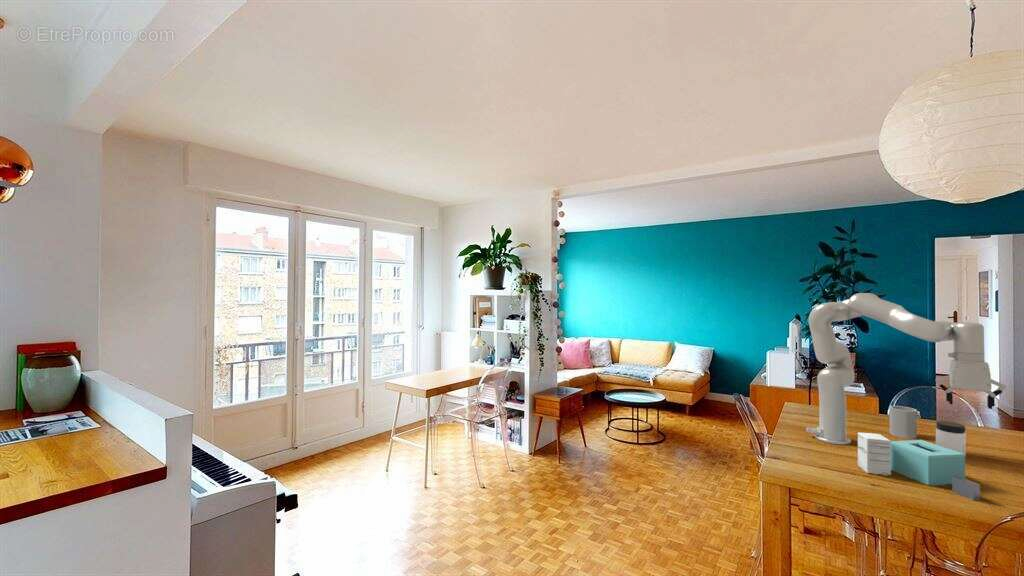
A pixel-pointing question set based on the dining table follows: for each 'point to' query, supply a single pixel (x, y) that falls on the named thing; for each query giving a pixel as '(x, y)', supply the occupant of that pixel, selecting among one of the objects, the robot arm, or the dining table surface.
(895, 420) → the cup
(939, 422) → the jar
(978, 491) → the grey metal block
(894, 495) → the dining table surface
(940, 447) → the coin box
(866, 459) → the supplement box
